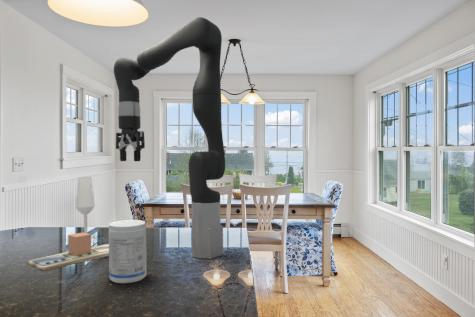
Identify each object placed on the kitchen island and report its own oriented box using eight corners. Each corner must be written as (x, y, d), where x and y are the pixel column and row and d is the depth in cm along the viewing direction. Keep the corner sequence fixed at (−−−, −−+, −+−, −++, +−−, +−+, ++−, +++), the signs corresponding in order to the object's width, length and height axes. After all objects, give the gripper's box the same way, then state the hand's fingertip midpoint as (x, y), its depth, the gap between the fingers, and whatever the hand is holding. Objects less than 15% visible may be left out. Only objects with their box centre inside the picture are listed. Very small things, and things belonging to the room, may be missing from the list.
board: (127, 251, 127) (127, 247, 127) (44, 270, 107) (43, 266, 107) (108, 245, 135) (108, 242, 135) (26, 263, 115) (26, 258, 115)
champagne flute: (97, 238, 148) (97, 176, 148) (90, 242, 141) (90, 177, 141) (80, 238, 148) (79, 176, 148) (73, 242, 141) (72, 177, 141)
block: (91, 253, 121) (90, 234, 121) (75, 256, 118) (75, 237, 117) (83, 250, 125) (83, 232, 124) (68, 253, 121) (68, 234, 121)
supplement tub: (113, 273, 104) (113, 219, 104) (149, 271, 105) (148, 219, 105) (105, 285, 95) (104, 226, 95) (143, 283, 96) (143, 225, 96)
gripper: (150, 114, 133) (150, 161, 133) (127, 117, 142) (127, 160, 143) (131, 113, 127) (132, 161, 128) (109, 116, 137) (109, 161, 137)
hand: (130, 161), depth 135 cm, fingers open, 8 cm apart
